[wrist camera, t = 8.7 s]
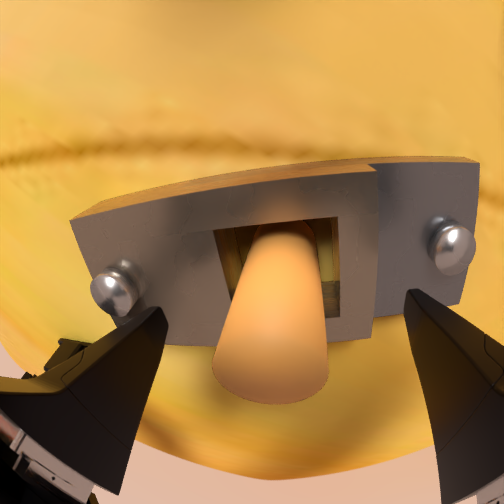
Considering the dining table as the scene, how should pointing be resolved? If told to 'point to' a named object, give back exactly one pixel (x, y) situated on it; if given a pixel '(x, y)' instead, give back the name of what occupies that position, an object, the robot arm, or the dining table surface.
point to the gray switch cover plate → (226, 247)
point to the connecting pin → (276, 320)
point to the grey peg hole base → (406, 226)
